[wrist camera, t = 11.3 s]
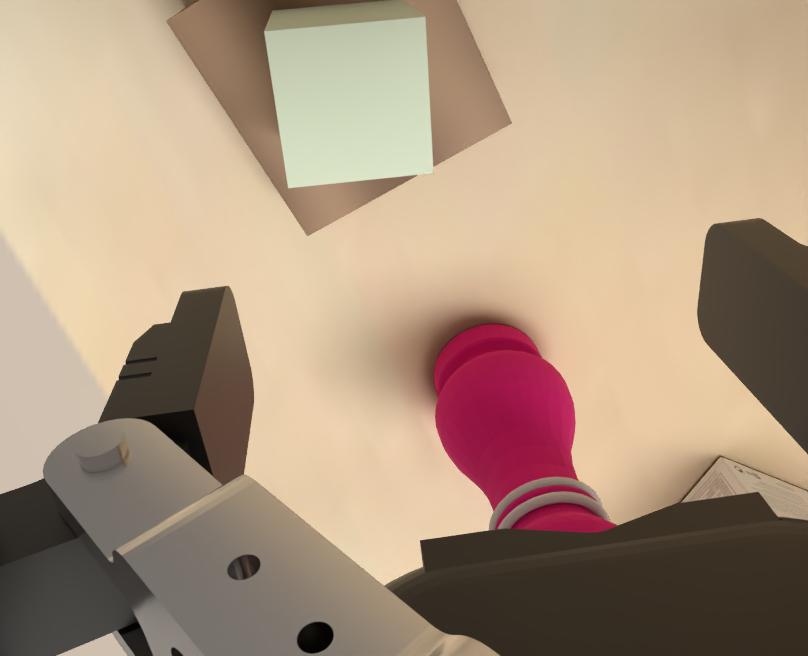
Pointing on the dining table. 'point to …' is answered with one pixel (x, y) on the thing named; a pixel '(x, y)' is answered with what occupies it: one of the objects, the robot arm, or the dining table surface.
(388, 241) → the dining table surface
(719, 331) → the robot arm
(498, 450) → the pepper mill
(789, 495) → the supplement box
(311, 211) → the walnut box
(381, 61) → the green block
